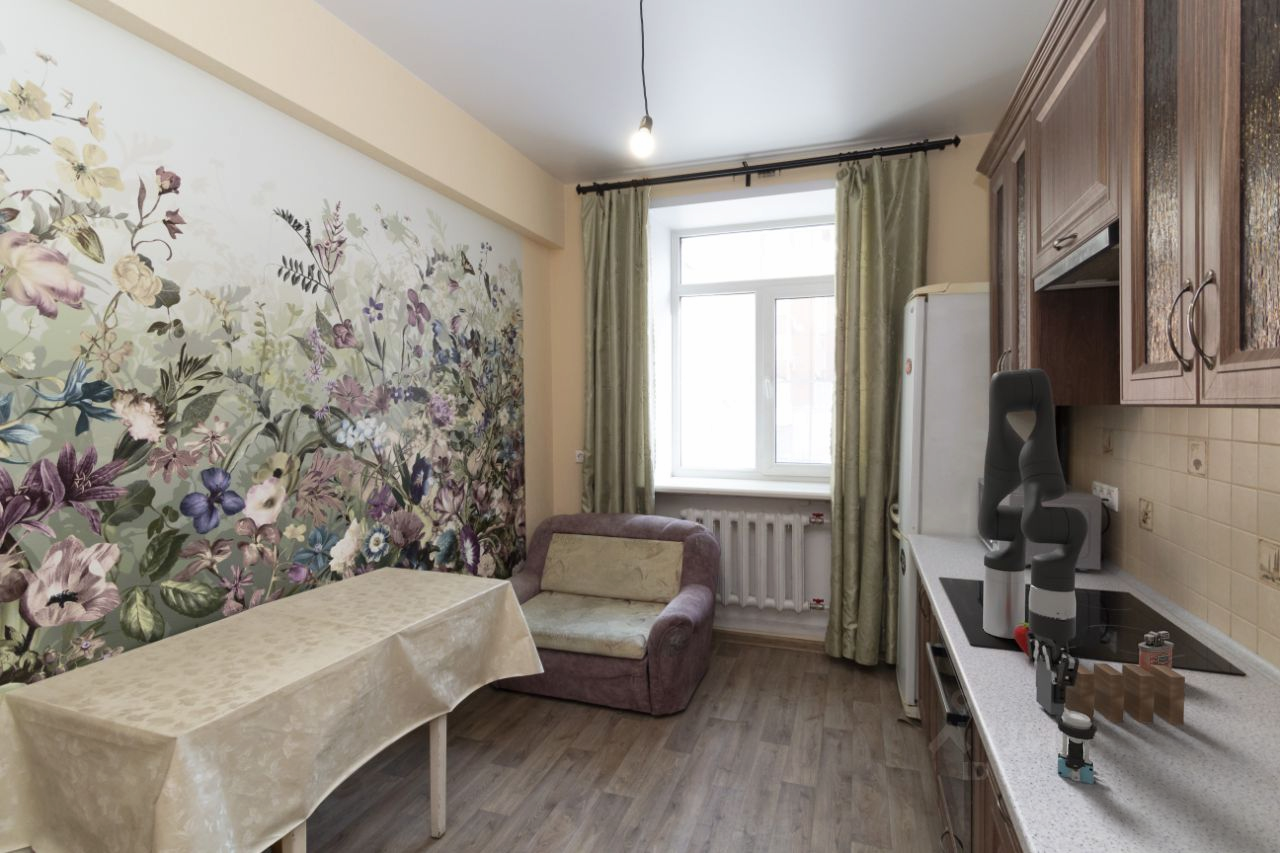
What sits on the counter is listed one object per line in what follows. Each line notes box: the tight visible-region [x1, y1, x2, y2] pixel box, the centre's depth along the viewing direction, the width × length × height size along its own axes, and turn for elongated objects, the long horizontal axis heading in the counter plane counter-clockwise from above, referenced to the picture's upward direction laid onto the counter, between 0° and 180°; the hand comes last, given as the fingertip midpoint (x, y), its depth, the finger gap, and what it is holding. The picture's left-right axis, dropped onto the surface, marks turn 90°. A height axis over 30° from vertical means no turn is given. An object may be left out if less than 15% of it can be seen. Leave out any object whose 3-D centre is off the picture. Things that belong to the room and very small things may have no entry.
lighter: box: [1137, 630, 1175, 674], centre depth 131 cm, size 8×3×10 cm, turn 105°
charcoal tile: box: [1036, 658, 1065, 716], centre depth 117 cm, size 2×5×9 cm, turn 174°
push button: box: [1055, 710, 1107, 785], centre depth 97 cm, size 7×5×10 cm
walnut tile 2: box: [1121, 663, 1155, 724], centre depth 116 cm, size 2×5×9 cm, turn 174°
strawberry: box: [1014, 622, 1035, 658], centre depth 141 cm, size 6×8×10 cm
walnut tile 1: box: [1151, 665, 1186, 725], centre depth 115 cm, size 2×5×9 cm, turn 174°
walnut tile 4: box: [1064, 662, 1095, 722], centre depth 117 cm, size 2×5×9 cm, turn 174°
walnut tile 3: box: [1092, 662, 1124, 723], centre depth 116 cm, size 2×5×9 cm, turn 174°
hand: (1050, 695), depth 117 cm, fingers closed on charcoal tile, 4 cm apart
